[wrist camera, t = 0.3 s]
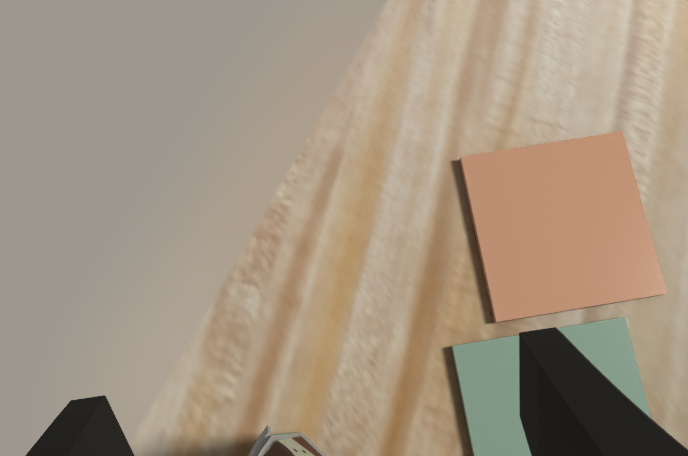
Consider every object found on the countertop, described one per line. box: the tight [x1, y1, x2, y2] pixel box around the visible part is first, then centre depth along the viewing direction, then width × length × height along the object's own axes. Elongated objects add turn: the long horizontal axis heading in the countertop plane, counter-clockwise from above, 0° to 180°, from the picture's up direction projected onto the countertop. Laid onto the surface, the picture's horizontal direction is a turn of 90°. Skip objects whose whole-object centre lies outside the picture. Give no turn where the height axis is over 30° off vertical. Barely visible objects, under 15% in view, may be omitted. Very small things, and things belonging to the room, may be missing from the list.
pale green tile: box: [451, 317, 651, 456], centre depth 39 cm, size 11×11×1 cm
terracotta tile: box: [459, 132, 667, 323], centre depth 42 cm, size 11×11×1 cm
